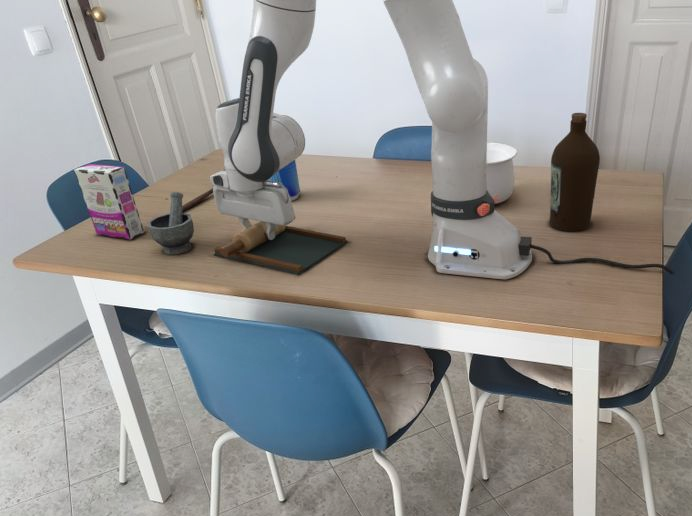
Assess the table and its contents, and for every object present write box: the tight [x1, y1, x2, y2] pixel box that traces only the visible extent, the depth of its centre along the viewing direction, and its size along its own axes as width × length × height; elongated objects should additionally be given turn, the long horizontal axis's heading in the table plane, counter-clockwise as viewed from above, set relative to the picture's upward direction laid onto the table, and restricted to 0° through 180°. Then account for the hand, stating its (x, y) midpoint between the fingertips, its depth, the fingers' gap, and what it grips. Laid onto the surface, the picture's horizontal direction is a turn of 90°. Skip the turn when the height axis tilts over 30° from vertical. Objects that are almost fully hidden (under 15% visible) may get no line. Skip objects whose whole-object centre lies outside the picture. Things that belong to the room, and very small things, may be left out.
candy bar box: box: [73, 163, 145, 241], centre depth 150 cm, size 11×5×16 cm, turn 68°
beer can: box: [270, 159, 301, 202], centre depth 167 cm, size 8×8×16 cm
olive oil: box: [549, 112, 601, 232], centre depth 142 cm, size 11×11×25 cm
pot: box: [486, 141, 518, 205], centre depth 161 cm, size 22×17×12 cm
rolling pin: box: [220, 217, 296, 257], centre depth 144 cm, size 4×23×4 cm, turn 152°
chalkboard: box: [213, 225, 348, 276], centre depth 143 cm, size 24×18×2 cm
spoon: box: [182, 187, 213, 212], centre depth 174 cm, size 11×33×3 cm, turn 158°
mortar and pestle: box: [147, 191, 195, 255], centre depth 143 cm, size 11×9×12 cm
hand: (260, 236), depth 144 cm, fingers closed on rolling pin, 4 cm apart
